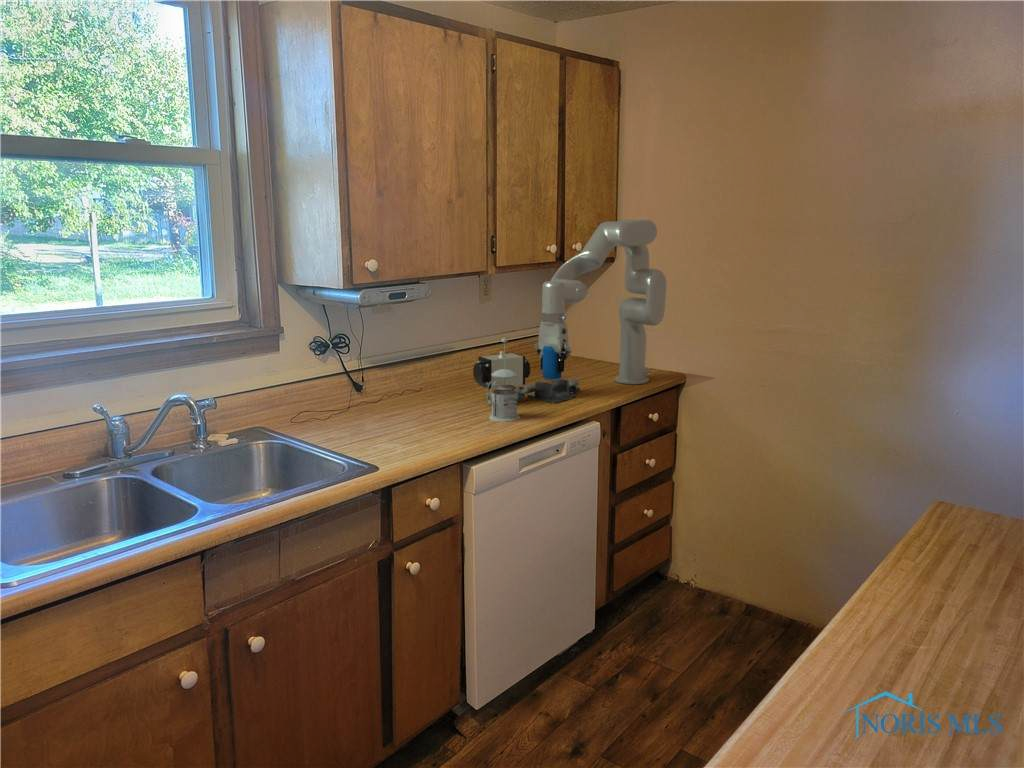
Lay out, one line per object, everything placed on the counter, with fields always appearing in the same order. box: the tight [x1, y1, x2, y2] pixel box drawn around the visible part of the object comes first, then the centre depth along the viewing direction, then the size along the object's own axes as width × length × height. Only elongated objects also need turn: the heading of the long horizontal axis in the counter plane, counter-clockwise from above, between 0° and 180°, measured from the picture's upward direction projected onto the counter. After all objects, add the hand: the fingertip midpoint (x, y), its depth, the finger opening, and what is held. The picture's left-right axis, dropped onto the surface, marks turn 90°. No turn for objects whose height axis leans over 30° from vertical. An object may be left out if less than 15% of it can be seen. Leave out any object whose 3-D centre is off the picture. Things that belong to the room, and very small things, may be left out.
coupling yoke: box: [515, 377, 581, 404], centre depth 262 cm, size 24×15×6 cm, turn 137°
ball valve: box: [472, 350, 531, 405], centre depth 251 cm, size 18×8×18 cm, turn 120°
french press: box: [486, 337, 521, 423], centre depth 233 cm, size 10×12×25 cm
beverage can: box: [542, 345, 563, 382], centre depth 259 cm, size 6×6×12 cm
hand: (552, 370), depth 259 cm, fingers closed on beverage can, 6 cm apart
